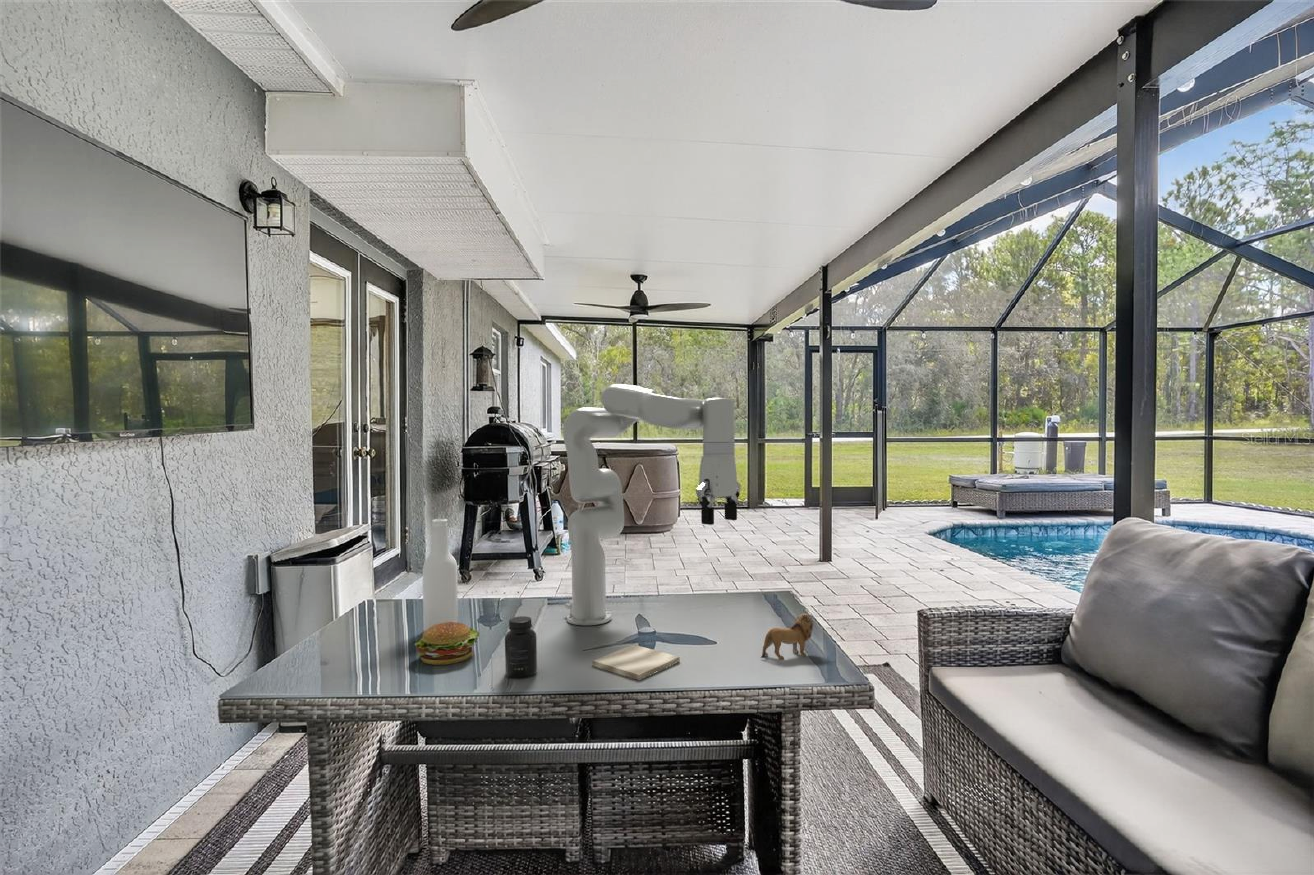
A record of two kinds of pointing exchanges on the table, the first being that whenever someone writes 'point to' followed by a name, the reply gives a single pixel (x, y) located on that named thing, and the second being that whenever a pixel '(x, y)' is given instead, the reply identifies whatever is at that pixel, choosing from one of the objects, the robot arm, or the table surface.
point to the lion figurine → (790, 636)
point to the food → (446, 643)
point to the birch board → (635, 661)
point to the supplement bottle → (520, 649)
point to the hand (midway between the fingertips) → (719, 521)
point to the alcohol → (439, 580)
